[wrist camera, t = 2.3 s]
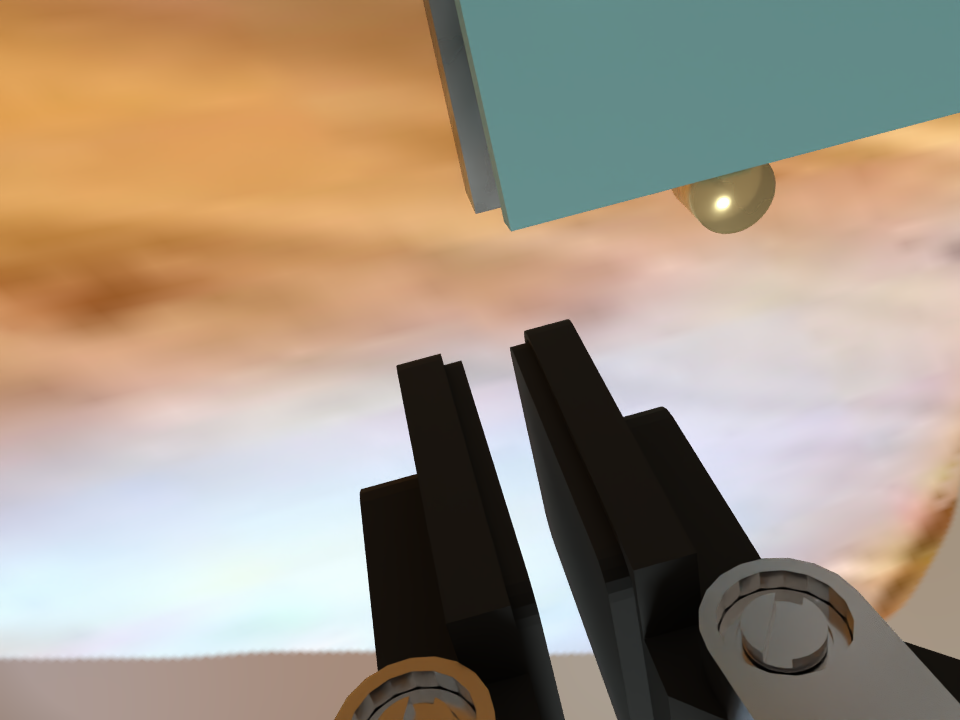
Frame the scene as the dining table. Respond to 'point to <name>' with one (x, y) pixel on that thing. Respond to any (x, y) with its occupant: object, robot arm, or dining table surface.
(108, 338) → the dining table surface
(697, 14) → the plate
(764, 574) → the robot arm
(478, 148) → the base
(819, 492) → the dining table surface
